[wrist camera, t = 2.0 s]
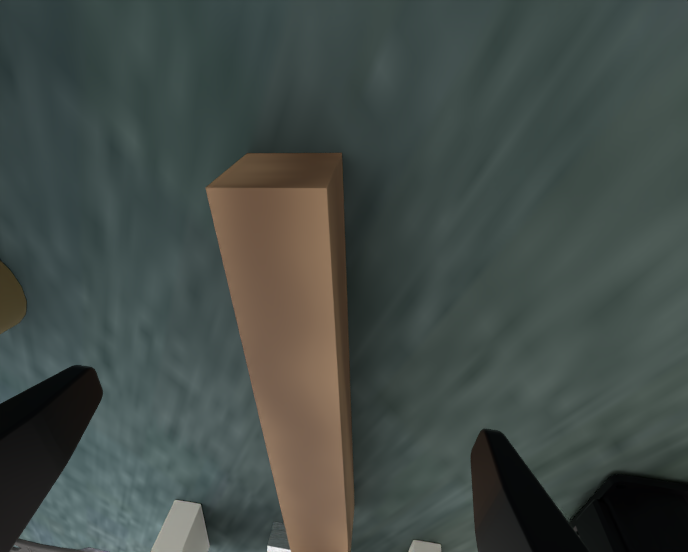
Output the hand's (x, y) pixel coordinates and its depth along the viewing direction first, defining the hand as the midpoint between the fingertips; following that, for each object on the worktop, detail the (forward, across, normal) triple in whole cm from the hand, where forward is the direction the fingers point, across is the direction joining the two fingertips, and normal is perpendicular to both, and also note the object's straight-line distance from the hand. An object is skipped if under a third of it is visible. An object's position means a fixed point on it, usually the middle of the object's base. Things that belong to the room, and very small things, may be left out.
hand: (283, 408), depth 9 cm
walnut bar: (+8, 0, +8) cm, 12 cm away
